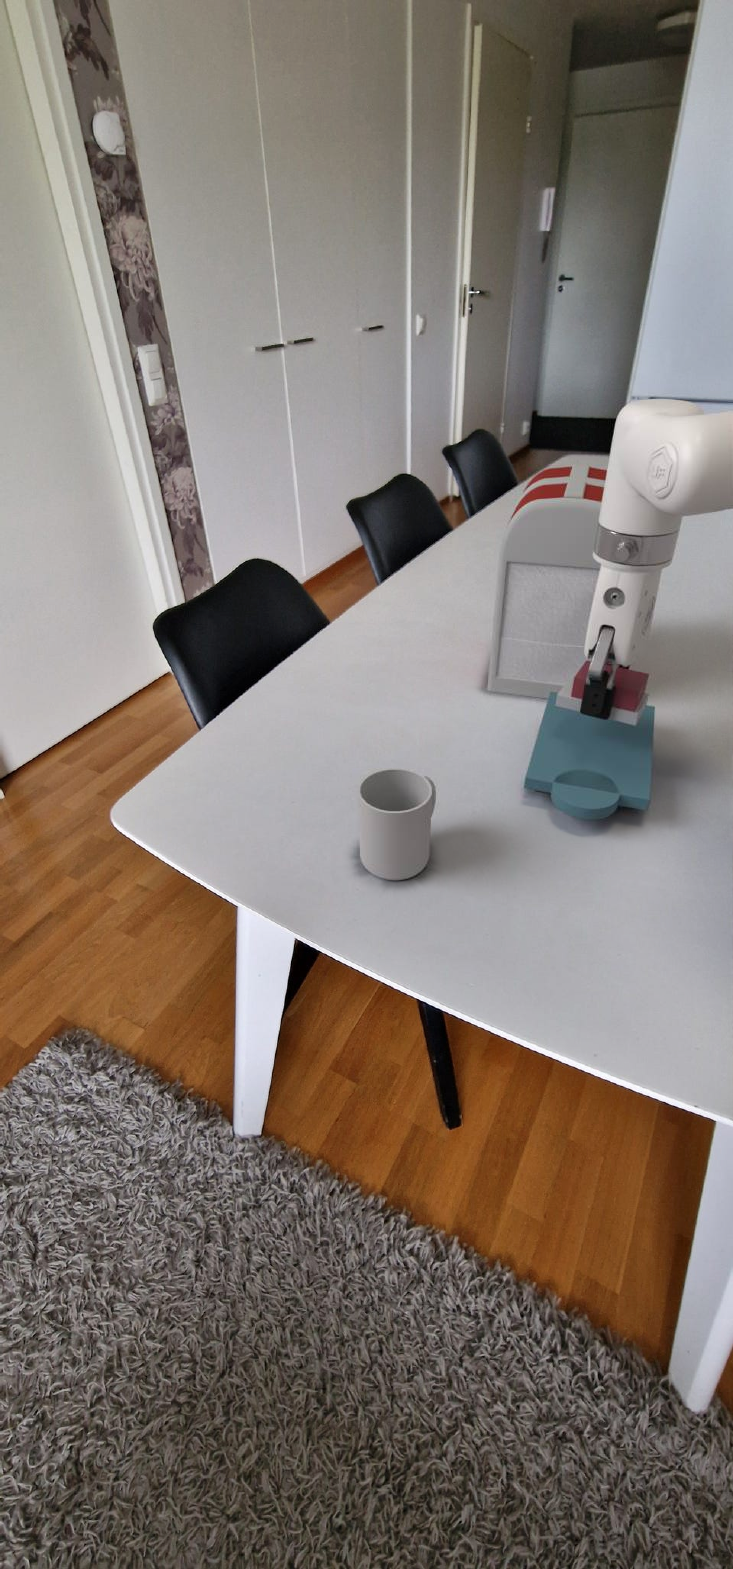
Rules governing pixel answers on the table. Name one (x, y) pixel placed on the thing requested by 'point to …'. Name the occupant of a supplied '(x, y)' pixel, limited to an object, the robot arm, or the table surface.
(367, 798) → the cup
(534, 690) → the red-striped rounded block
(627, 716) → the maroon block on base
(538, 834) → the table surface
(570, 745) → the board
